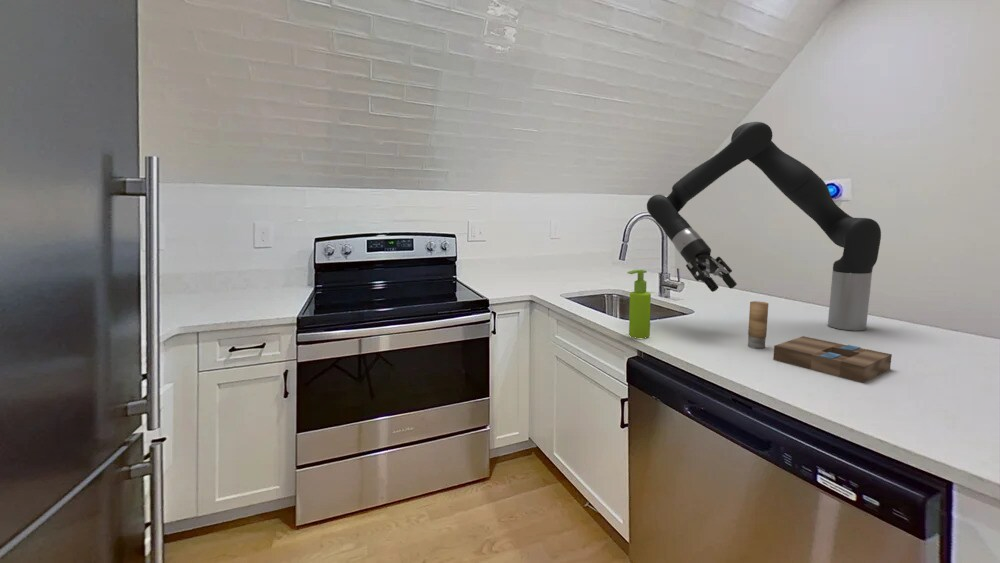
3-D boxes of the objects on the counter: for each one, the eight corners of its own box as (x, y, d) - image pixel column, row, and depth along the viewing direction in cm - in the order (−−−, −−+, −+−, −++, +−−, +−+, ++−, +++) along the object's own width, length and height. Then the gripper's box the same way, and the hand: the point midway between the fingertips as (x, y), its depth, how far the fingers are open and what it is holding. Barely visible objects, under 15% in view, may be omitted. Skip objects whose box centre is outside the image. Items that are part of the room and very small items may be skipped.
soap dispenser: (622, 335, 130) (623, 269, 127) (641, 332, 132) (643, 268, 129) (633, 340, 125) (634, 272, 122) (653, 337, 127) (655, 270, 124)
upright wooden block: (752, 343, 119) (755, 300, 117) (768, 346, 115) (771, 303, 114) (744, 345, 117) (746, 302, 115) (759, 349, 113) (762, 305, 111)
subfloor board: (802, 349, 113) (803, 335, 112) (890, 369, 97) (891, 353, 97) (773, 359, 106) (774, 344, 105) (862, 382, 90) (864, 365, 90)
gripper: (683, 239, 124) (719, 282, 116) (714, 236, 131) (749, 277, 123) (667, 256, 129) (700, 299, 121) (697, 252, 137) (730, 293, 128)
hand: (725, 288), depth 122 cm, fingers open, 8 cm apart
